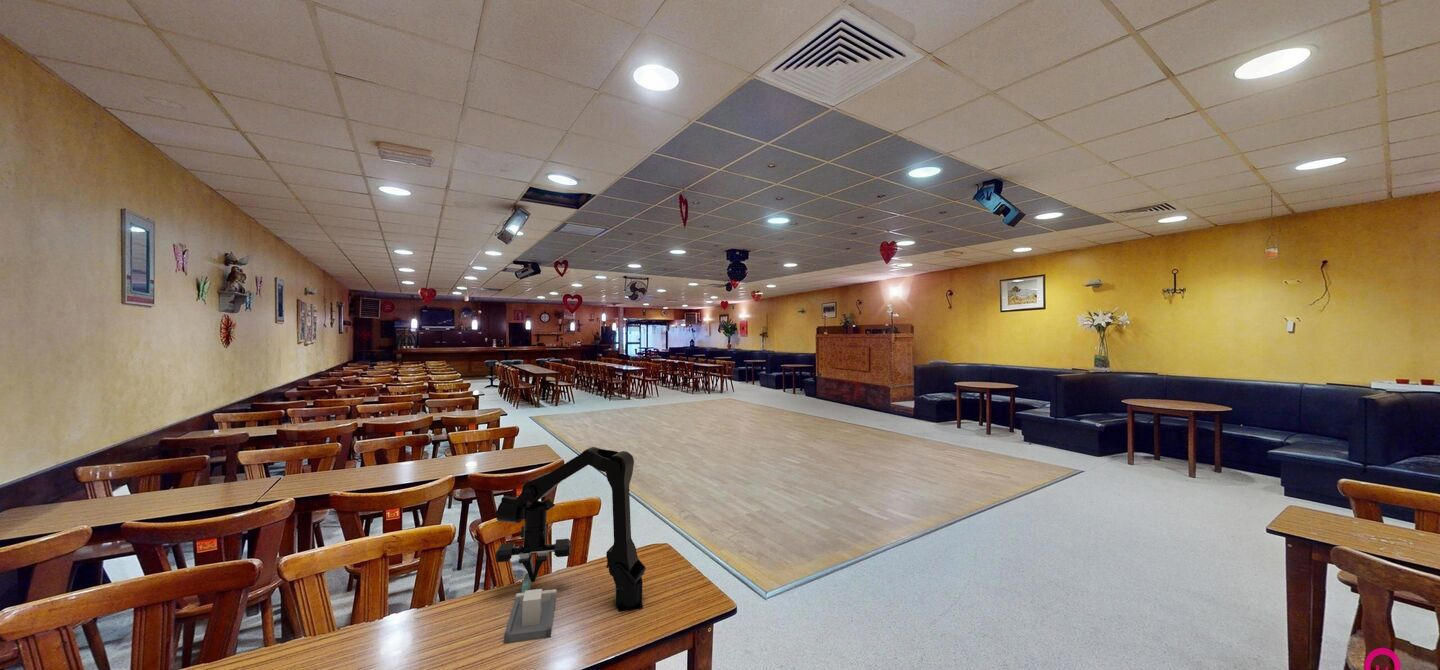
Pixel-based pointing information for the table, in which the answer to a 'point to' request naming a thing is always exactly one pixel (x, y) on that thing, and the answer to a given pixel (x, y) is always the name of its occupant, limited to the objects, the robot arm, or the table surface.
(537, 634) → the grey base plate
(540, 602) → the block
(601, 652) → the table surface
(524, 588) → the gate
